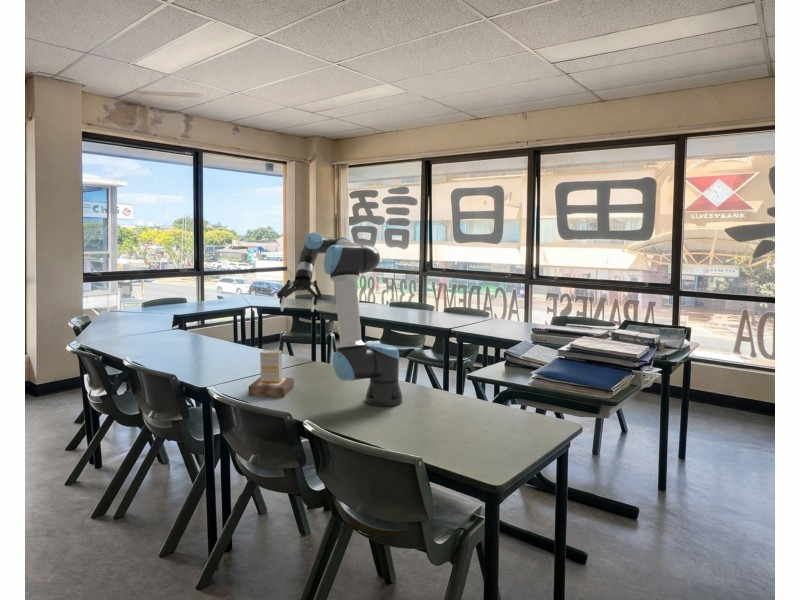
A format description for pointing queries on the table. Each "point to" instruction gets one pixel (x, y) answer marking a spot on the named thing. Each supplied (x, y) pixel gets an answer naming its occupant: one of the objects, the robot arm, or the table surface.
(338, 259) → the robot arm
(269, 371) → the supplement box
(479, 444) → the table surface
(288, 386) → the walnut base
